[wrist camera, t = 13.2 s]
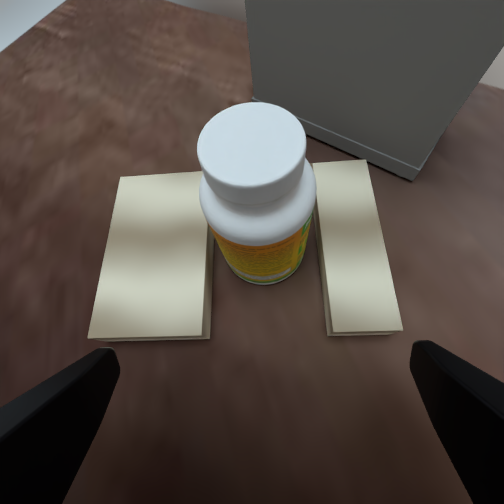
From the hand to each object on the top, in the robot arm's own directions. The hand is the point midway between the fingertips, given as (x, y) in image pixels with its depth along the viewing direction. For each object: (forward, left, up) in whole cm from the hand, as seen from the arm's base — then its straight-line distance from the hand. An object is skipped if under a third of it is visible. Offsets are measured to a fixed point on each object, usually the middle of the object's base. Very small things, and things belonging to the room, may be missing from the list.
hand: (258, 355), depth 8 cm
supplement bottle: (+7, +3, -9) cm, 11 cm away
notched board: (+6, +4, -8) cm, 11 cm away
